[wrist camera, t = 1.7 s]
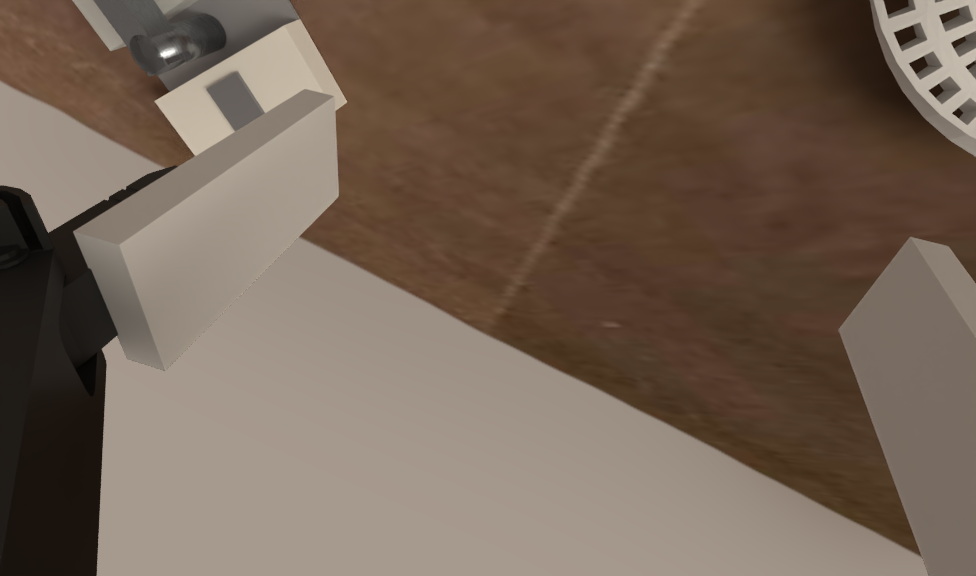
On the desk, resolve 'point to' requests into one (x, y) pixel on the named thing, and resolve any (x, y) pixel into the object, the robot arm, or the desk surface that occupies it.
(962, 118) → the decorative object
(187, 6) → the door mockup
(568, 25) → the desk surface
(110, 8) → the lever
